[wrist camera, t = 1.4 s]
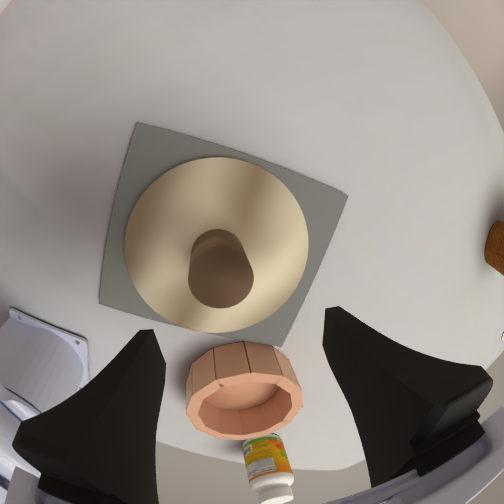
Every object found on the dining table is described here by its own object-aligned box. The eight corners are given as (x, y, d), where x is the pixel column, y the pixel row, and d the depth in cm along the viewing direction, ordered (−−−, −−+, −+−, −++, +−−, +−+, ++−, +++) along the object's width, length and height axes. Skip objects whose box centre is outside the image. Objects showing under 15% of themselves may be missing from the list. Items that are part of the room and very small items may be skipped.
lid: (116, 303, 19) (98, 340, 15) (155, 134, 16) (138, 126, 11) (267, 339, 23) (281, 378, 18) (330, 194, 19) (364, 207, 15)
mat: (100, 300, 19) (98, 303, 19) (139, 123, 16) (137, 122, 15) (279, 343, 24) (281, 346, 23) (345, 194, 20) (348, 195, 19)
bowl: (179, 403, 24) (178, 433, 21) (201, 332, 22) (202, 364, 18) (268, 414, 27) (275, 440, 23) (307, 350, 24) (321, 378, 21)
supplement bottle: (284, 444, 31) (302, 499, 22) (247, 454, 30) (260, 509, 21) (277, 428, 29) (297, 490, 20) (236, 438, 28) (248, 502, 19)
